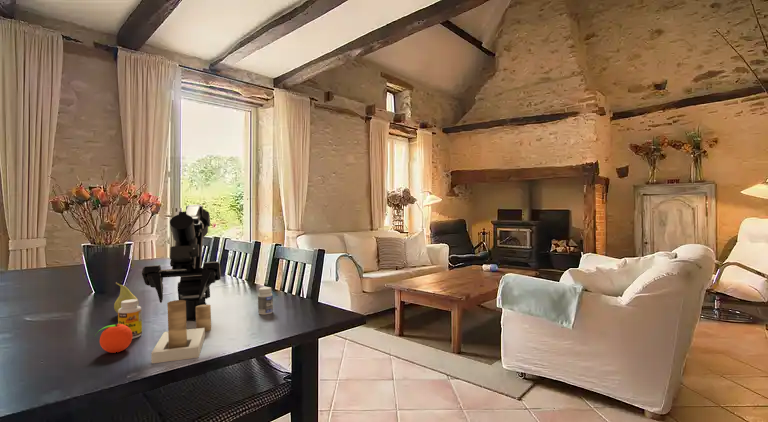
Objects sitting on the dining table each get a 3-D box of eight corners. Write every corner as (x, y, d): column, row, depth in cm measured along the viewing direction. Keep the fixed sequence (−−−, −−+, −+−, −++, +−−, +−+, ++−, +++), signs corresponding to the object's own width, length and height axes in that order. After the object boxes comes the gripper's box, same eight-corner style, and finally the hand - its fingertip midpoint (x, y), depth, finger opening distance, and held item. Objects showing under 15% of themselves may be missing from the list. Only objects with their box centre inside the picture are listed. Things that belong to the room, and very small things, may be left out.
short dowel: (193, 331, 116) (192, 307, 116) (202, 327, 120) (202, 304, 119) (204, 332, 115) (204, 308, 114) (214, 328, 118) (213, 304, 118)
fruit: (143, 312, 137) (141, 277, 137) (126, 318, 130) (125, 282, 130) (124, 312, 138) (123, 277, 138) (107, 318, 130) (106, 281, 130)
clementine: (91, 359, 96) (90, 330, 96) (98, 350, 102) (97, 322, 102) (130, 354, 99) (129, 325, 99) (135, 345, 105) (134, 318, 105)
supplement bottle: (115, 341, 108) (113, 303, 108) (123, 334, 114) (122, 299, 114) (137, 339, 110) (136, 302, 109) (145, 333, 115) (144, 297, 115)
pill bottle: (268, 315, 131) (268, 289, 131) (255, 314, 132) (255, 289, 132) (275, 311, 136) (274, 286, 136) (262, 310, 137) (262, 286, 137)
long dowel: (166, 354, 98) (164, 302, 98) (183, 350, 101) (181, 299, 101) (173, 358, 96) (171, 305, 95) (190, 353, 99) (188, 301, 98)
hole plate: (164, 341, 108) (164, 331, 108) (204, 336, 111) (204, 327, 111) (151, 363, 93) (151, 352, 93) (198, 357, 96) (198, 347, 96)
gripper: (142, 235, 105) (132, 286, 95) (218, 232, 111) (217, 279, 101) (150, 261, 113) (141, 310, 103) (221, 257, 119) (220, 302, 109)
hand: (180, 300), depth 104 cm, fingers open, 9 cm apart
